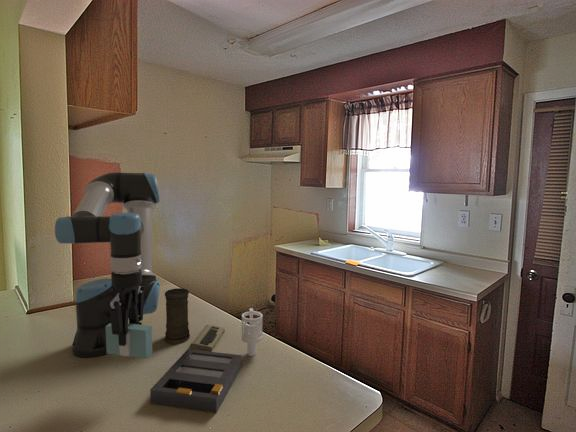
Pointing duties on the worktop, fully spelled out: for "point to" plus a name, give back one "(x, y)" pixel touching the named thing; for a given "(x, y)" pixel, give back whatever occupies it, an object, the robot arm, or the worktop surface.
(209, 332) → the computer
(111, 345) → the panel
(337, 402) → the worktop surface
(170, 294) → the container
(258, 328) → the white ringed cylinder
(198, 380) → the rack
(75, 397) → the worktop surface
